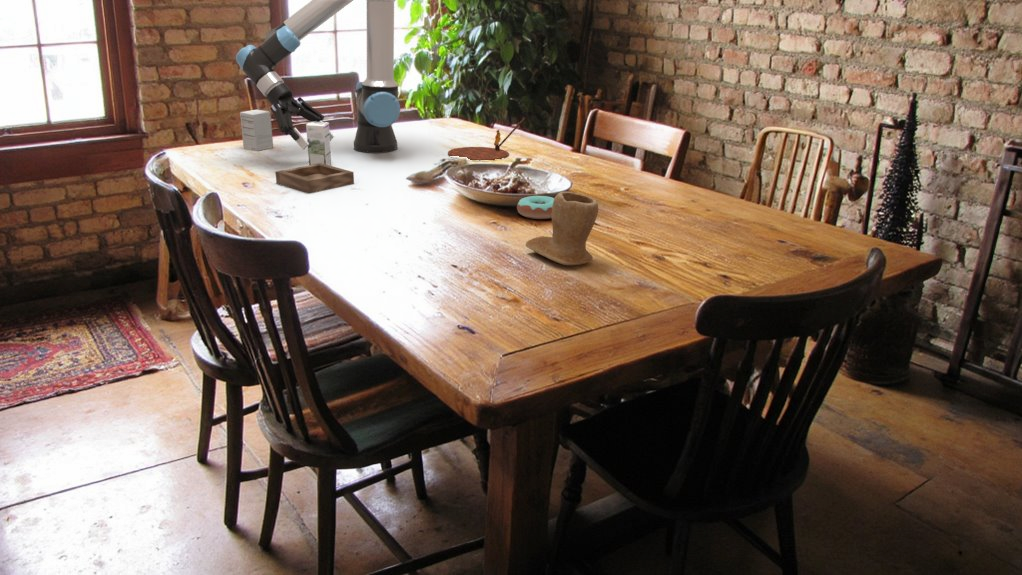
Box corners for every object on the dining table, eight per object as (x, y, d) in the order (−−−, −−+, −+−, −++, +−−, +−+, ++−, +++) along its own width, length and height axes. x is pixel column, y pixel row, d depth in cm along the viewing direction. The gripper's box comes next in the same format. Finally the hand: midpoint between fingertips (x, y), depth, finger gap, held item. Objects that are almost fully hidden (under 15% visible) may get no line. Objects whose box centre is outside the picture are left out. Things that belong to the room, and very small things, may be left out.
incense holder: (436, 153, 291) (435, 120, 287) (506, 144, 308) (507, 113, 304) (469, 164, 276) (469, 130, 272) (542, 154, 292) (543, 122, 288)
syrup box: (332, 167, 268) (329, 121, 262) (326, 171, 262) (323, 124, 257) (314, 166, 268) (311, 120, 263) (308, 170, 263) (305, 124, 257)
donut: (509, 217, 219) (510, 202, 218) (526, 206, 230) (526, 192, 228) (553, 223, 215) (553, 208, 214) (567, 211, 226) (568, 197, 224)
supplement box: (260, 145, 297) (256, 109, 292) (274, 148, 293) (270, 111, 288) (242, 148, 291) (239, 111, 287) (256, 151, 287) (253, 114, 283)
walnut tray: (321, 174, 259) (320, 163, 257) (354, 183, 249) (353, 171, 247) (276, 183, 248) (275, 171, 246) (308, 193, 238) (307, 181, 236)
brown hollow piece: (606, 263, 187) (610, 197, 181) (562, 272, 181) (565, 205, 175) (565, 244, 199) (568, 182, 193) (523, 252, 193) (525, 188, 187)
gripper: (293, 93, 274) (334, 143, 274) (242, 103, 253) (288, 158, 253) (305, 77, 270) (348, 128, 271) (255, 87, 249) (301, 142, 249)
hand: (319, 143), depth 262 cm, fingers open, 13 cm apart
